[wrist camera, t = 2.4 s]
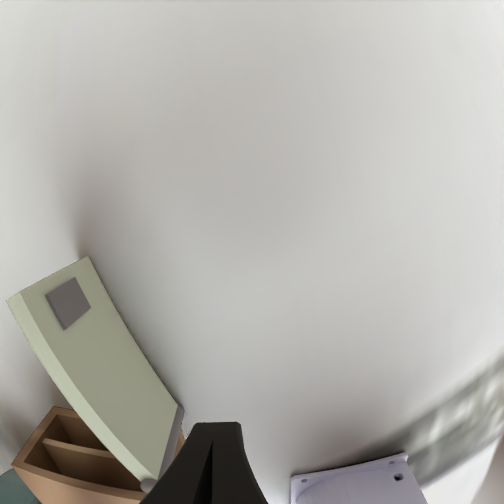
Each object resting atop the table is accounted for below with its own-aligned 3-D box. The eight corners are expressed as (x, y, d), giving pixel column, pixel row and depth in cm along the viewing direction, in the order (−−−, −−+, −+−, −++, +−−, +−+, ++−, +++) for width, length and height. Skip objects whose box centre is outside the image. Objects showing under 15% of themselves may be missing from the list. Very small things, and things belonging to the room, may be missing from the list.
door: (189, 414, 17) (171, 495, 11) (171, 418, 17) (150, 496, 11) (91, 253, 15) (17, 292, 9) (75, 263, 15) (0, 304, 9)
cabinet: (178, 419, 17) (157, 503, 11) (202, 493, 19) (195, 559, 13) (53, 406, 17) (10, 464, 11) (94, 479, 19) (71, 533, 12)
